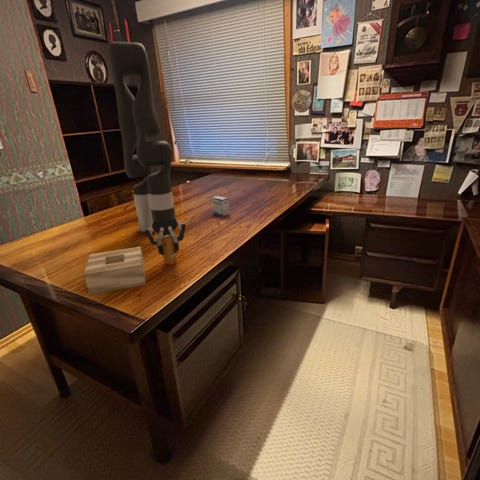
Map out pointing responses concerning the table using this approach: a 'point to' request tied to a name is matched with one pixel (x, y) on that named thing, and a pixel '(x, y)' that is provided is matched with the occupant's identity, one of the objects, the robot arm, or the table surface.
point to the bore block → (114, 270)
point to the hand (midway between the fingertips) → (169, 252)
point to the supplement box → (168, 250)
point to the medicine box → (220, 205)
